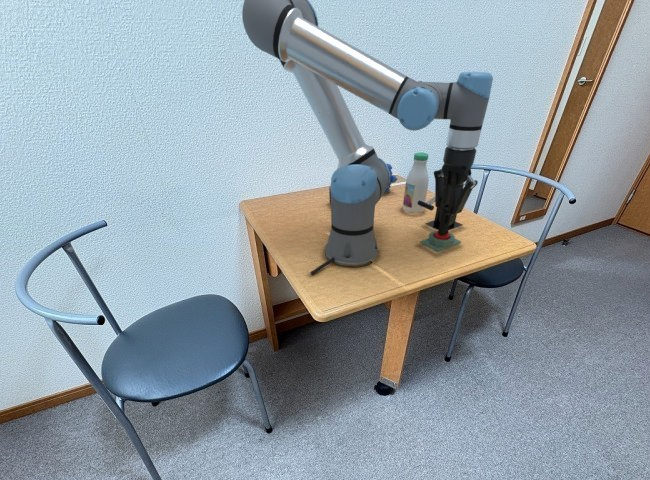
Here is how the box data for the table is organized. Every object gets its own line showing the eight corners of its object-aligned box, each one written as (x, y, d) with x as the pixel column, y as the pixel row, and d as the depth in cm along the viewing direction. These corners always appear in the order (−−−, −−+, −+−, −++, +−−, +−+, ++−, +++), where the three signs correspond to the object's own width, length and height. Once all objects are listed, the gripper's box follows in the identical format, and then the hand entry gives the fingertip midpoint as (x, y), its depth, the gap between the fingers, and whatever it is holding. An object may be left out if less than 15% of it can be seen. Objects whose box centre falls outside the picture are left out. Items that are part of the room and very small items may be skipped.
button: (441, 245, 95) (442, 238, 94) (430, 239, 98) (431, 233, 96) (451, 241, 97) (453, 234, 95) (440, 235, 100) (441, 229, 98)
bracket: (442, 235, 104) (451, 189, 95) (423, 226, 109) (431, 182, 100) (462, 228, 108) (474, 183, 99) (444, 220, 114) (453, 176, 105)
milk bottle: (422, 208, 122) (431, 151, 110) (424, 216, 116) (435, 157, 104) (401, 207, 123) (408, 150, 111) (402, 215, 117) (410, 156, 105)
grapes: (394, 198, 130) (397, 167, 123) (377, 197, 131) (379, 166, 124) (397, 189, 139) (400, 159, 131) (381, 188, 140) (384, 158, 133)
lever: (430, 213, 97) (430, 206, 95) (417, 207, 101) (417, 200, 99) (461, 192, 100) (462, 185, 99) (447, 187, 104) (447, 180, 102)
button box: (437, 255, 94) (439, 245, 92) (419, 245, 99) (420, 235, 97) (460, 246, 98) (463, 236, 96) (441, 237, 103) (444, 227, 101)
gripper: (493, 150, 79) (469, 238, 93) (451, 140, 87) (435, 222, 102) (473, 154, 75) (451, 245, 90) (431, 144, 84) (417, 228, 99)
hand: (442, 233), depth 96 cm, fingers closed
